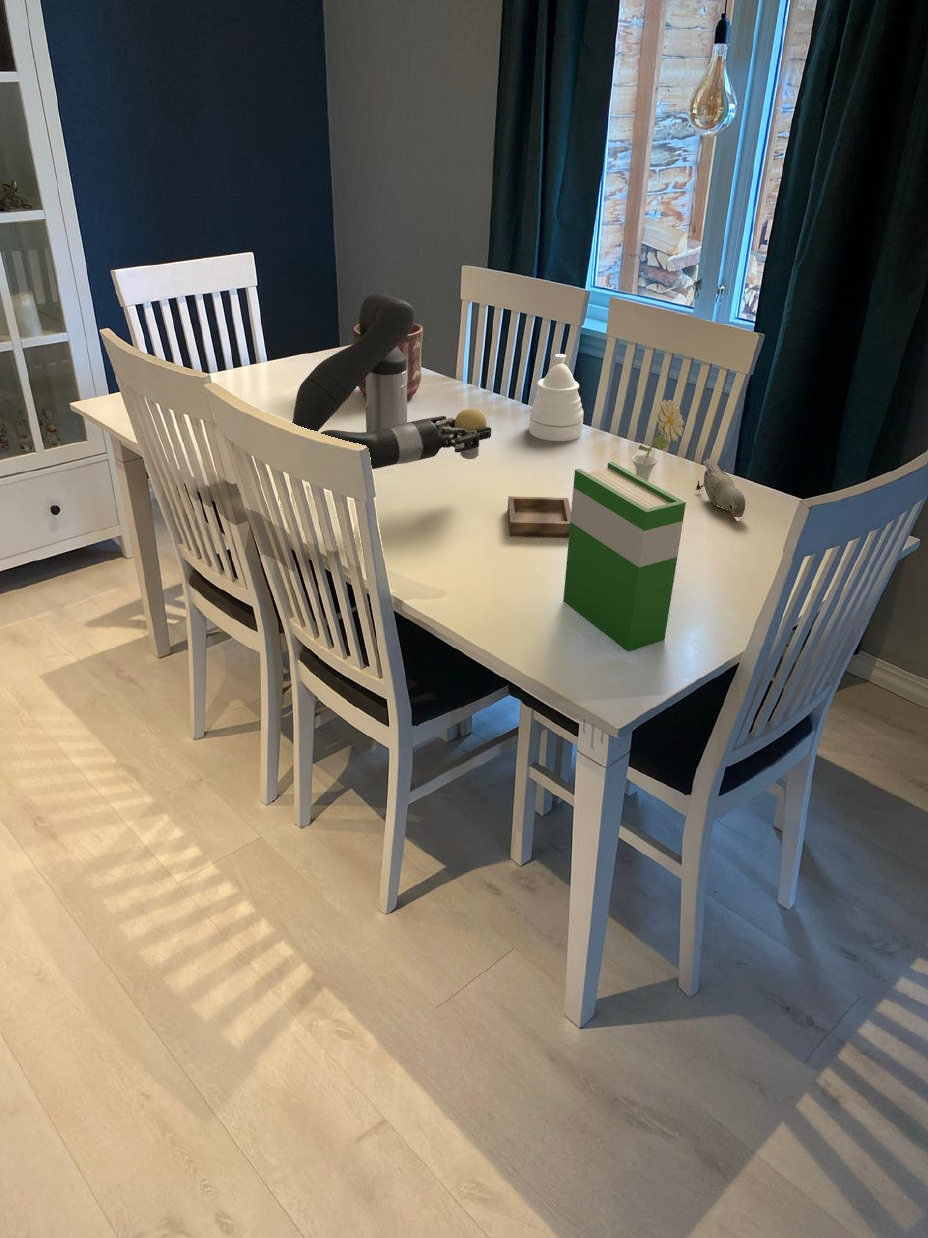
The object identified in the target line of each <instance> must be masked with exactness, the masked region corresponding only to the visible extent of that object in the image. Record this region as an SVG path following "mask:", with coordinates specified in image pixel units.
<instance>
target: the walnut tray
mask: <svg viewBox="0 0 928 1238" xmlns="http://www.w3.org/2000/svg"><path fill="white" fill-rule="evenodd" d="M570 505H571V504H570V499H569V497H550V496H549V497H547V496H508V498H507V517H508V518H507V521H508V531H509V532H508V533H509V535H508V536H509V537H512V538H513V537H518V538H519V537H521V538H551V539H552V538H555V539H556V538H557V539H560V538H561V539H569V531H570V519H571V506H570Z"/></svg>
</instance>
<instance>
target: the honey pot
mask: <svg viewBox="0 0 928 1238" xmlns="http://www.w3.org/2000/svg"><path fill="white" fill-rule="evenodd" d="M566 358H567V355H566V354H563V353H556V354H555V355H554V359H555V361H556V364H554V365H553V366H552V367H551V368H550V369H549V371H548V372H547V374H545V375H546V376H545V377H544V378H541V379H540V380H538V381H537V383H536V386H537V389H538V392H537V393H536V394H535V399H534V401H533V404H532V406H531V408H530V411H529V413H530V414H529V420H528V421H529V423H528V432H529V434H530V435H532V436H534V437H535V438H537V439H541V440H545V441H550V442H551V441H552V442H567V441H573V440H576V439H578V438H580V437H581V436H582V434H583V425H584V424H583V423H584V412H585V411H584V409H583V408H582V406H583V404H582V402H581V399H582V398H581V397H580V395H579V392H578V391H579V388H580V384H579V383H578V381H576V380H575V379H574V375H573V374H572V372H571V370H570V369H569V367H568V366H567V365H566V364H564V362H565V361H566Z"/></svg>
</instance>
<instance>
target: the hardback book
mask: <svg viewBox="0 0 928 1238" xmlns="http://www.w3.org/2000/svg"><path fill="white" fill-rule="evenodd" d="M571 497H572V499H571V507H570V509H571V519H570V531H569V538H568V543H567V544H568V545H567V555H566V567H565V575H564V577H565V578H564V589H563V599H562V600H563V601H562V602H563V603H564V604H566V605H567V606H568V607H570V608H571V609H572V610H573V611H575V612H576V613H577V614H578V615H580V616H581V617H582V618H584V619H585V620H586V621H587V622H588V623H590V624H591V625H592V626H593V627H596V629H597V630H599V631H600V632H601V633H603V634H604V635H606V636H607V638H609V639H610V640H612V641H613V642H614V643H616V644H617V646H620V647H621V648H622V649H623V650H625V651H626V652H627V653H629V652H632V651H635V650H638V649H641V648H644V647H646V646H647V647H648V646H650V645H654V644H657V643H660V642H663V641H665V639H666V632H667V626H668V620H669V614H670V607H671V601H672V595H673V590H674V589H673V588H674V582H675V581H674V580H675V575H676V569H677V561H678V556H679V551H680V549H679V548H680V542H681V538H682V537H681V536H682V531H683V530H682V529H683V525H684V524H683V523H684V517H685V511H686V506H687V505H686V504H687V502H686V501H684V500H683V499H680V498H678V497H677V496H675V495H673V494H671V493H670V492H668V491H666V490H665V489H663V488H660V487H659V486H657V485H655V484H653V483H652V482H650V481H649V480H648V481H646V480H645V479H643V478H641V477H639V476H637V475H636V473H634V472H632V471H630V470H629V469H627V468H625V467H623V466H621V465H619V464H618V463H616V462H614V461H609V462H608V463H607V468H604V469H598V470H594V471H590V472H586V471H585V470H583V469H581V468H577V469H574V475H573V486H572V496H571Z"/></svg>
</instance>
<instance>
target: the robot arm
mask: <svg viewBox="0 0 928 1238" xmlns="http://www.w3.org/2000/svg"><path fill="white" fill-rule="evenodd" d="M359 309H360V310H359V316H358V317H359V318H358V321H359V323H358V324H359V328H360V339H359V340H358V341H357V342H355V341H354V343H352V344H351V345H349V346H347V347H346V348H343V349H341V350H340V351H337V352H336V353H334V354H332V355H330V356H329V357H327V358H325V359H324V360H323V361H321V362H320V363H319V364H318V365H317V366H316V367H314V369H313V370H312V371H311V372H310V373H309V375H308V376H306V378H305V379H304V380H303V382H301V384H300V385H299V387H298V391H297V393H296V398H295V402H294V403H295V404H294V410H293V416H292V422H291V424H292V423H294V424H296V425H298V426H301V427H304V428H307V429H310V430H314V431H317V433H318V432H319V430H320V429H321V428H322V427H323V426H324V425H325V424H326V423H327V422H328V421H329V420H330V419H331V417H333V415H334V414H335V413H336V412H337V411H338V410H339V409H340V408H341V407H342V406H343V404H344V403H345V402H346V401H347V400H348V399H349V397H350V396H351V395H352V393H354V391H355V390H356V389H357V387H358V385H359V384H360V383H361V382H362V381H363V380H364V379H365V378H366V397H367V398H366V397H365V398H366V404H365V427H366V428H365V431H364V432H363V431H362V432H356V431H346V430H338V429H337V430H336V429H326V430H323V431H321V432H320V433H321V434H325V435H328V436H331V437H335V438H338V439H342V440H345V441H349V442H353V443H359V444H362V445H366V446H367V447H368V448H369V452H370V457H371V465H372V469H371V470H376V469H382V468H385V467H390V466H393V465H402V464H404V465H405V464H408V463H413V462H417V461H421V460H426V459H430V458H434V457H436V456H437V454H438V453H439V452H440V450H441V448H442V449H443V448H444V449H447V448H448V449H449V448H454V453H457V454H458V453H460V452H462V451H466V450H469V449H473V448H476V447H479V448H480V441H483V440H487V439H490V438H491V437H492V428H491V427H490V426H486V427H484V428H479V429H475V430H465V429H464V428H455V419H456V418H452V417H448V418H447V416H446V415H441V416H434V417H429V418H422V419H419V420H414V421H413V420H412V421H409V422H408V400H407V360H406V357H405V355H404V354H403V353H402V352H401V350H400V349H399V348H398V345H399V344H400V343H401V342H402V341H403V340H404V339H405V338H406V337H407V336H408V334H409V333H410V331H411V329H412V327H413V324H414V323H415V311H414V309H413V306H412V305H411V304H410V303H408V302H407V301H406V300H404V299H400V298H397V297H395V296H392V295H388V294H385V293H383V292H382V293H381V292H374V293H371V294H369V295H368V296H366V297H365V299H364V300H363V302H362V303H361V306H360V308H359ZM458 432H460V433H461V437H459V436H458ZM466 434H471V435H467V436H465V435H466Z"/></svg>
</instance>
